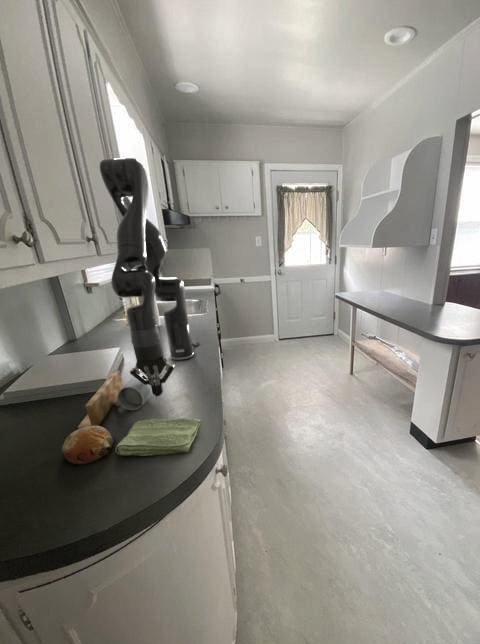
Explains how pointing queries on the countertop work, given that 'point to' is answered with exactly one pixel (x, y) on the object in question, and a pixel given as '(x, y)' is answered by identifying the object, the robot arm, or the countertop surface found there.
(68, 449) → the bread roll
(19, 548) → the countertop surface
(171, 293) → the robot arm
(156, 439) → the washcloth
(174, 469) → the countertop surface
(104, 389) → the mottled tan rectangular block
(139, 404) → the ceramic mug
